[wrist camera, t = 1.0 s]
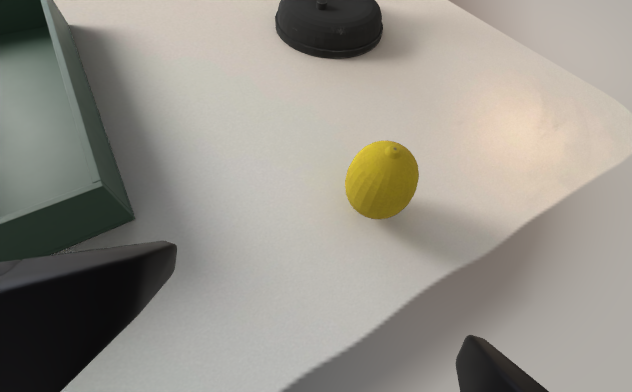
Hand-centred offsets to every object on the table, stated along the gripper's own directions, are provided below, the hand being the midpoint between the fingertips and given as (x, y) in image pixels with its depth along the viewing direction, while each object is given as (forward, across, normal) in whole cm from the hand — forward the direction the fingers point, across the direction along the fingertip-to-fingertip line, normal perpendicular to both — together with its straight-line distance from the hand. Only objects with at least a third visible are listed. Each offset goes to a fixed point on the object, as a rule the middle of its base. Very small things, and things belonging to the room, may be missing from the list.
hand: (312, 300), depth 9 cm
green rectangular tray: (+18, +33, +2) cm, 38 cm away
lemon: (+19, -3, +2) cm, 19 cm away
